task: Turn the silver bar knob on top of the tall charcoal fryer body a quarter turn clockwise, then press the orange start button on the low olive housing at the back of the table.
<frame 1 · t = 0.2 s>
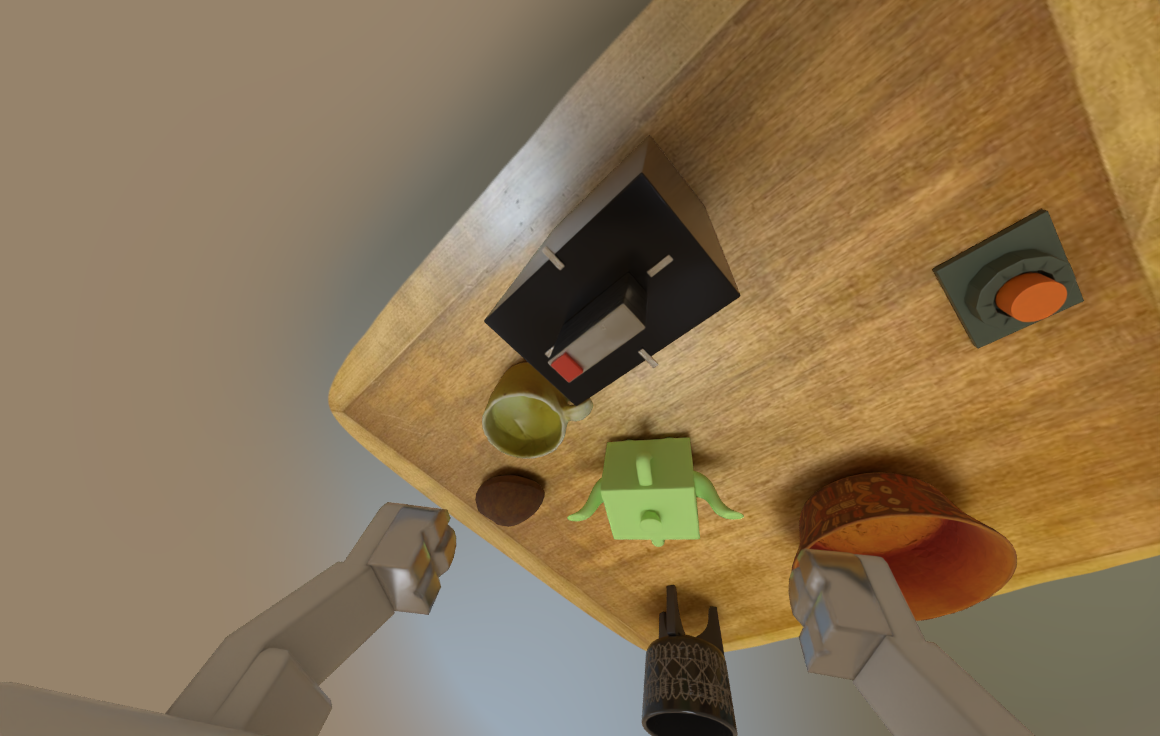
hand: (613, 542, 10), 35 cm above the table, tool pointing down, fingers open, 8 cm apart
timer panel: (626, 218, 40), on the table
teapot: (652, 457, 56), on the table
bowl: (861, 502, 55), on the table
mug: (550, 384, 52), on the table
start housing: (1004, 283, 38), on the table
planter: (682, 602, 74), on the table
timer dial: (598, 328, 22), point 22 cm above the table, hinge at 0.0°
potato: (513, 480, 63), on the table
start button: (1029, 297, 35), point 3 cm above the table, slide at 0.1 cm
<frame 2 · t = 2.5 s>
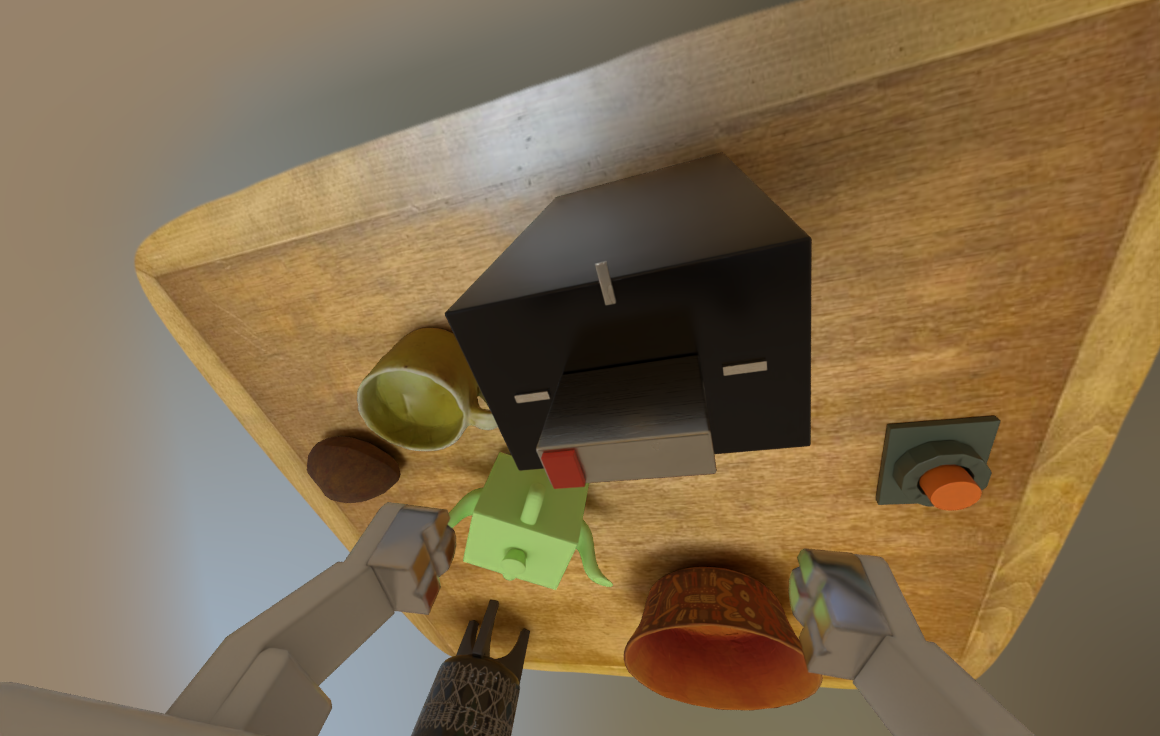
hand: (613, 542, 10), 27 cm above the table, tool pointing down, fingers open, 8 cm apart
timer panel: (645, 231, 32), on the table
teapot: (538, 482, 50), on the table
bowl: (709, 587, 56), on the table
mug: (463, 365, 42), on the table
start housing: (930, 461, 39), on the table
planter: (498, 617, 69), on the table
timer dial: (627, 419, 14), point 22 cm above the table, hinge at 0.0°
potato: (367, 447, 51), on the table
start button: (949, 487, 37), point 3 cm above the table, slide at 0.1 cm
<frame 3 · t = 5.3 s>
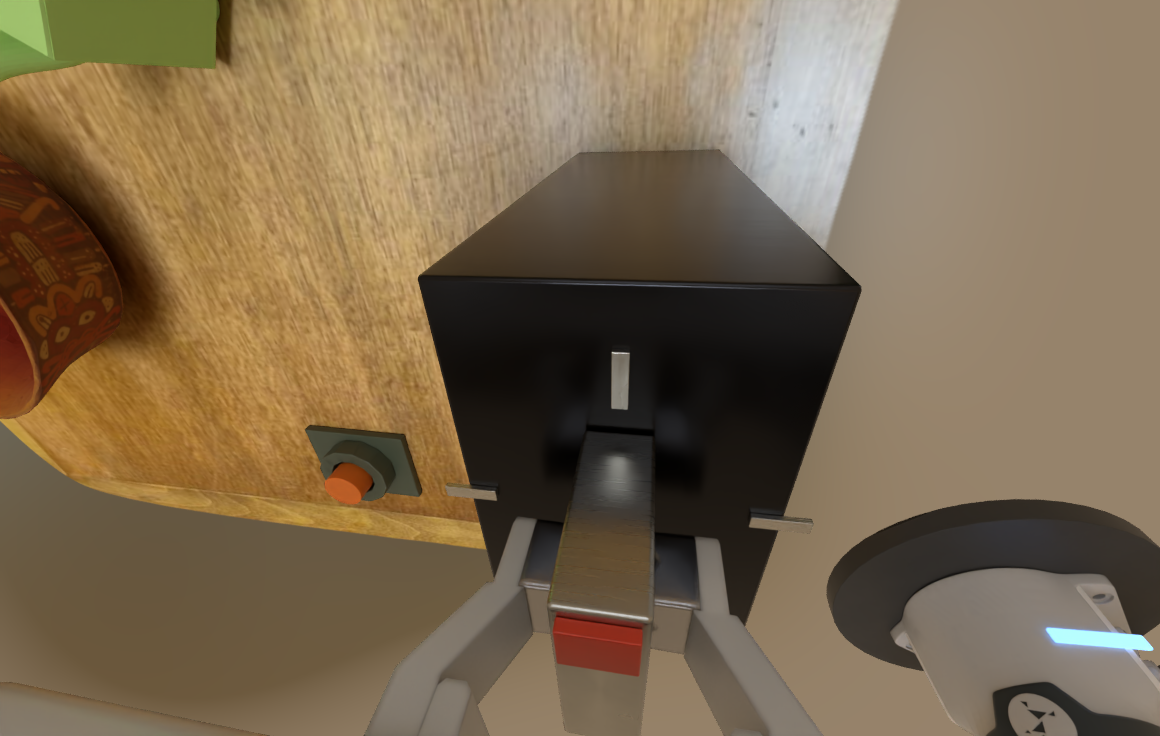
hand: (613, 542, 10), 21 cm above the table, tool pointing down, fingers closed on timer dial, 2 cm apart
timer panel: (642, 254, 27), on the table
bowl: (51, 238, 34), on the table
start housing: (367, 459, 43), on the table
timer dial: (609, 585, 9), point 22 cm above the table, hinge at 0.0°, touching gripper
start button: (349, 483, 40), point 3 cm above the table, slide at 0.1 cm
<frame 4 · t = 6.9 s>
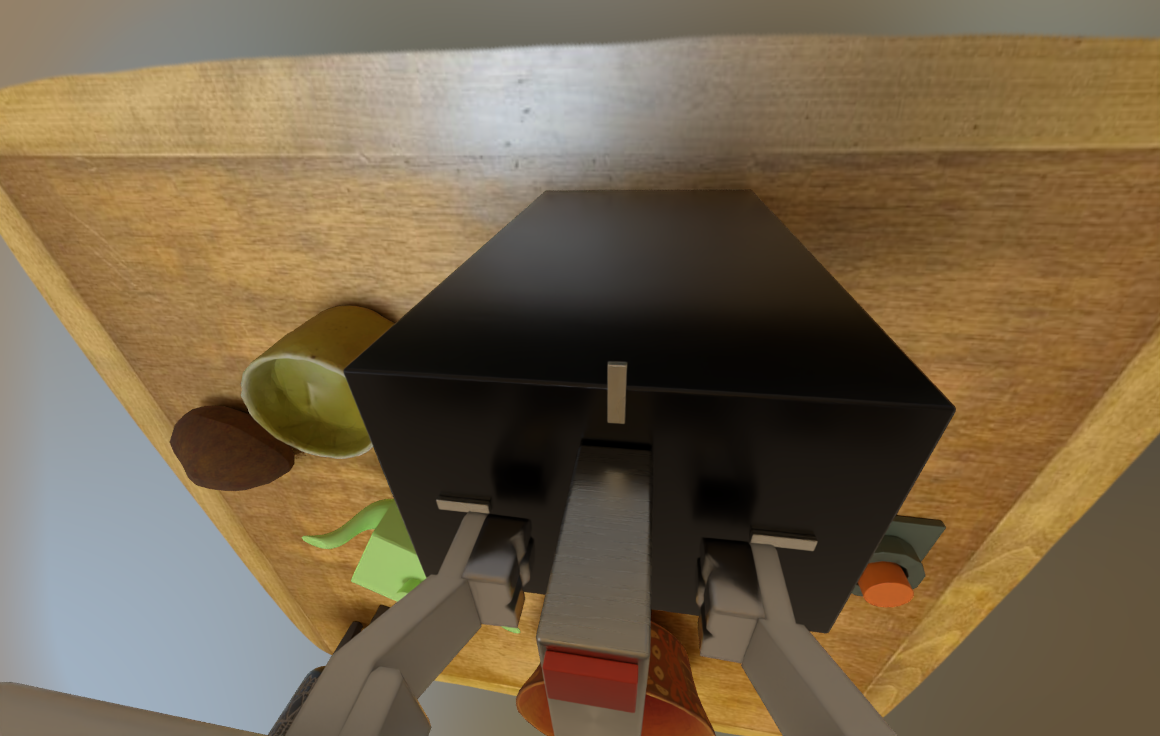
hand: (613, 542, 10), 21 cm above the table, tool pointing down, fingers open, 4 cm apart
timer panel: (641, 256, 27), on the table
teapot: (459, 498, 44), on the table
bowl: (619, 628, 53), on the table
mug: (393, 357, 35), on the table
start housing: (868, 550, 38), on the table
planter: (386, 622, 63), on the table
timer dial: (605, 607, 9), point 22 cm above the table, hinge at -89.8°
potato: (258, 423, 42), on the table
start button: (883, 583, 36), point 3 cm above the table, slide at 0.1 cm
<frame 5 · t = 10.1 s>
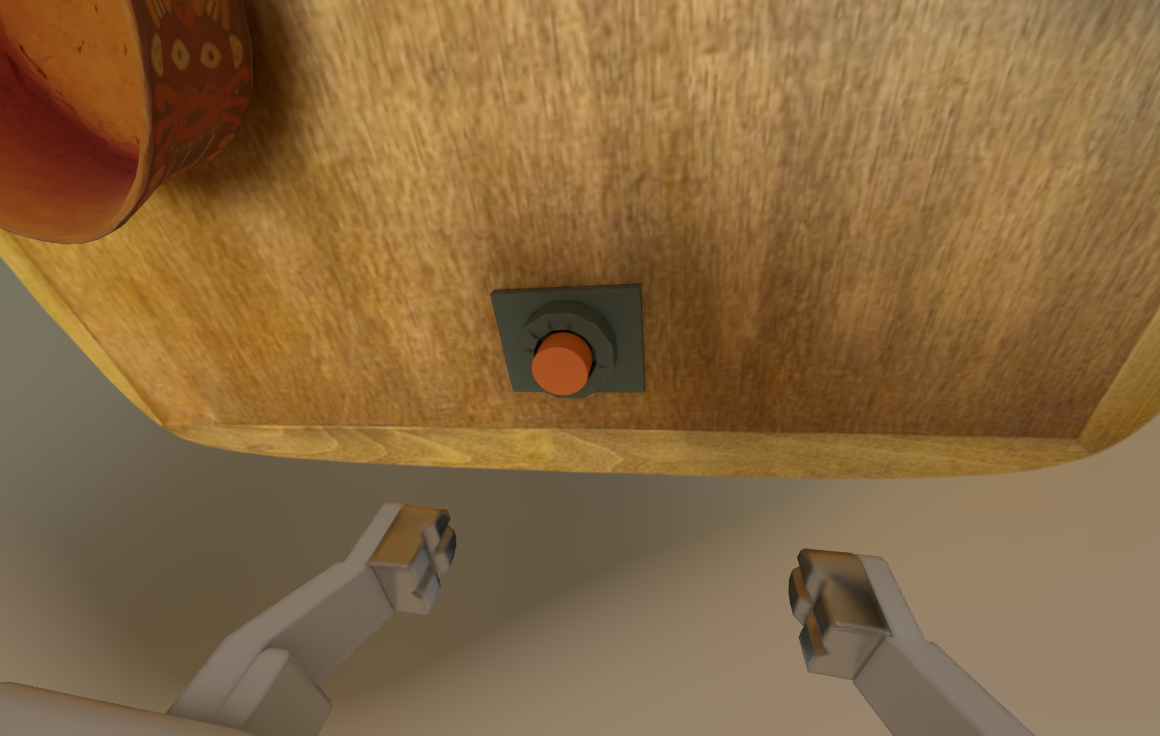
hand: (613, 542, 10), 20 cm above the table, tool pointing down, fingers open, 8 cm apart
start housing: (571, 340, 30), on the table
start button: (562, 363, 27), point 3 cm above the table, slide at 0.1 cm
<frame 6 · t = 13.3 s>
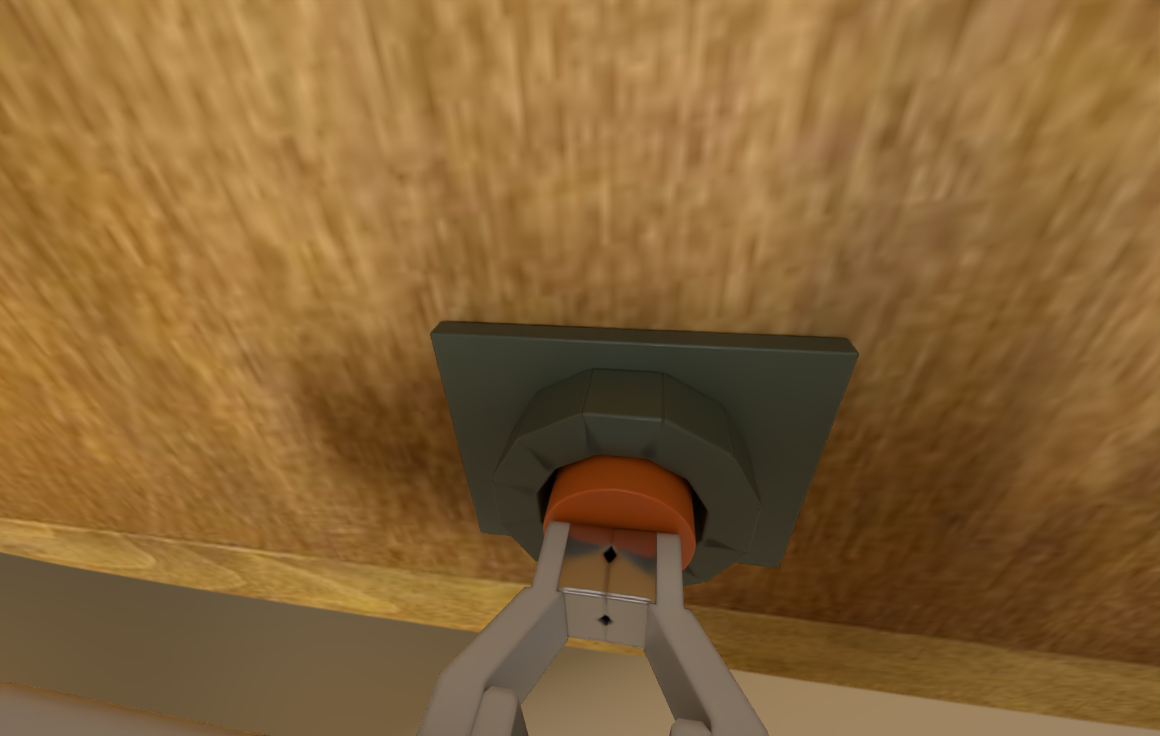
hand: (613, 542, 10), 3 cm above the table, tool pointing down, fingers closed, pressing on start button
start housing: (626, 447, 13), on the table
start button: (620, 507, 11), point 2 cm above the table, slide at -0.8 cm, touching gripper
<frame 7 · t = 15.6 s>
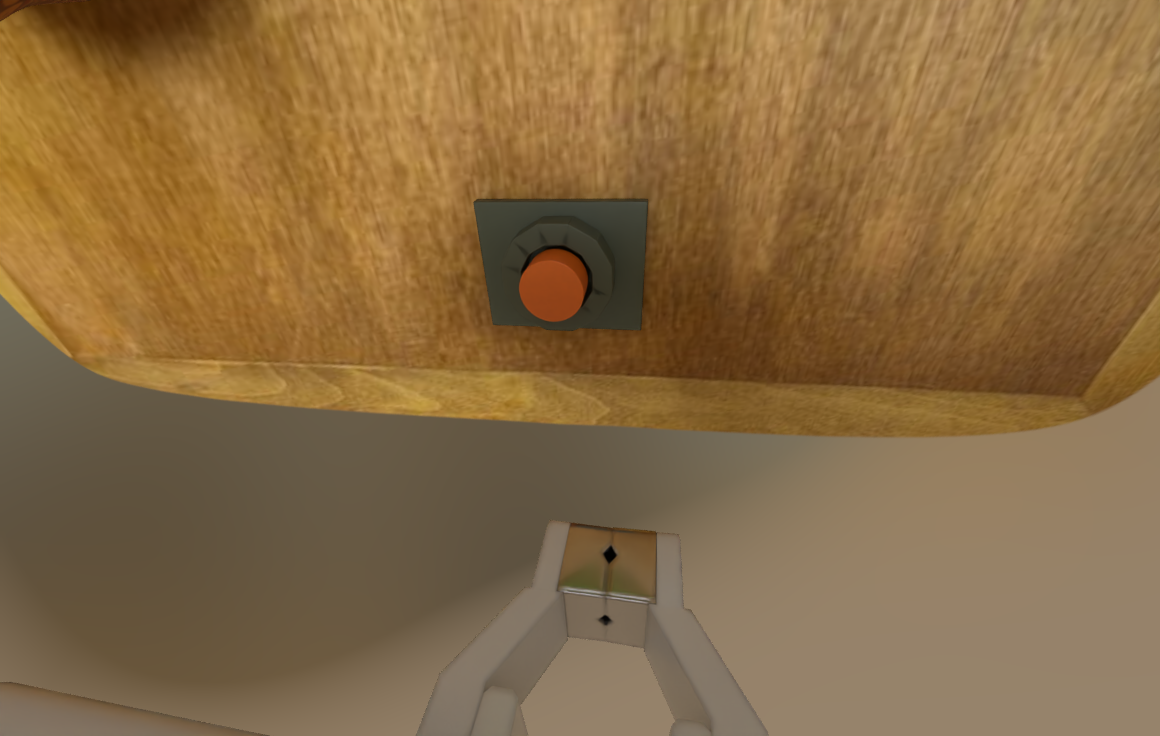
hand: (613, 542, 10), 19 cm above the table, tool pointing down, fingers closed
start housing: (563, 266, 27), on the table
start button: (554, 285, 24), point 3 cm above the table, slide at 0.1 cm
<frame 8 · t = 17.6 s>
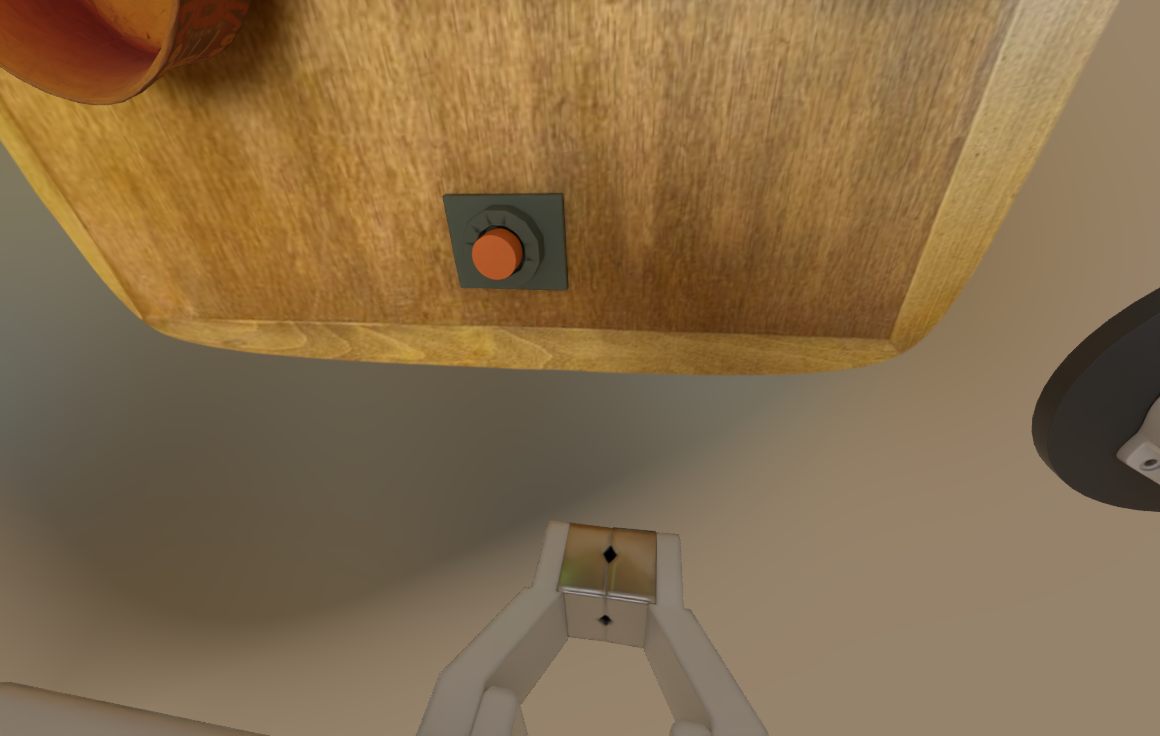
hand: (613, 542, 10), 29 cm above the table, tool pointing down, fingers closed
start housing: (509, 242, 37), on the table
start button: (497, 254, 34), point 3 cm above the table, slide at 0.1 cm
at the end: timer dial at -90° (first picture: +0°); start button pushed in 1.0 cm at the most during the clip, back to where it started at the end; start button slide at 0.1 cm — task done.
